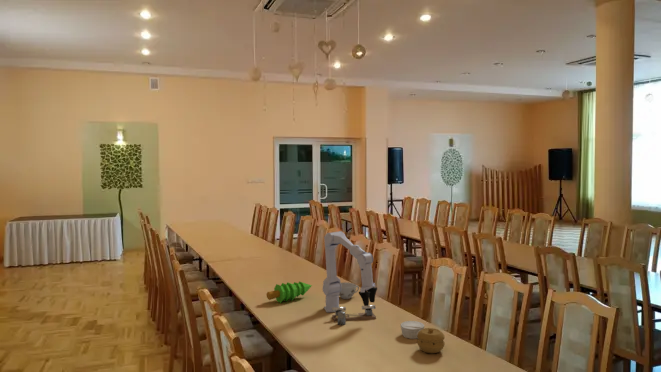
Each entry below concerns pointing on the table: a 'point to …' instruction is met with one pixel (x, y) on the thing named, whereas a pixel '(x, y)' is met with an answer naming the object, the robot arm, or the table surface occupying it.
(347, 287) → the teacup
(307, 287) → the decorative tree
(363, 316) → the shaft board
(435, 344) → the pot
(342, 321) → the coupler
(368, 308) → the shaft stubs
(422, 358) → the table surface
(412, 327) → the ramekin
